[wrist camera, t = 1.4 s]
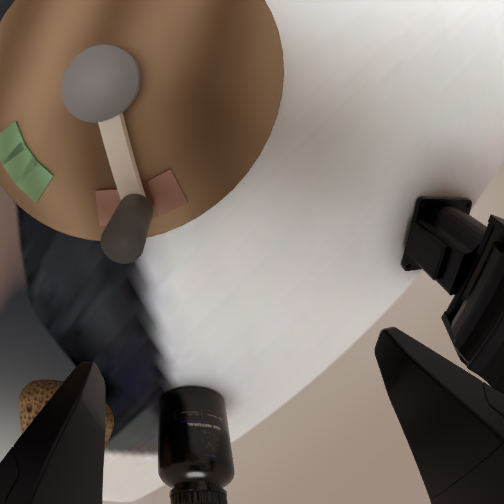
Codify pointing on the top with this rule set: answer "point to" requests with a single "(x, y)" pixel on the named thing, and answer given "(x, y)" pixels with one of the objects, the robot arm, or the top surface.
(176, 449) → the supplement bottle
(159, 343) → the top surface
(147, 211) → the multicoloured piece
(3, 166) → the round wooden board
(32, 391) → the natural sponge
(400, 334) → the robot arm
